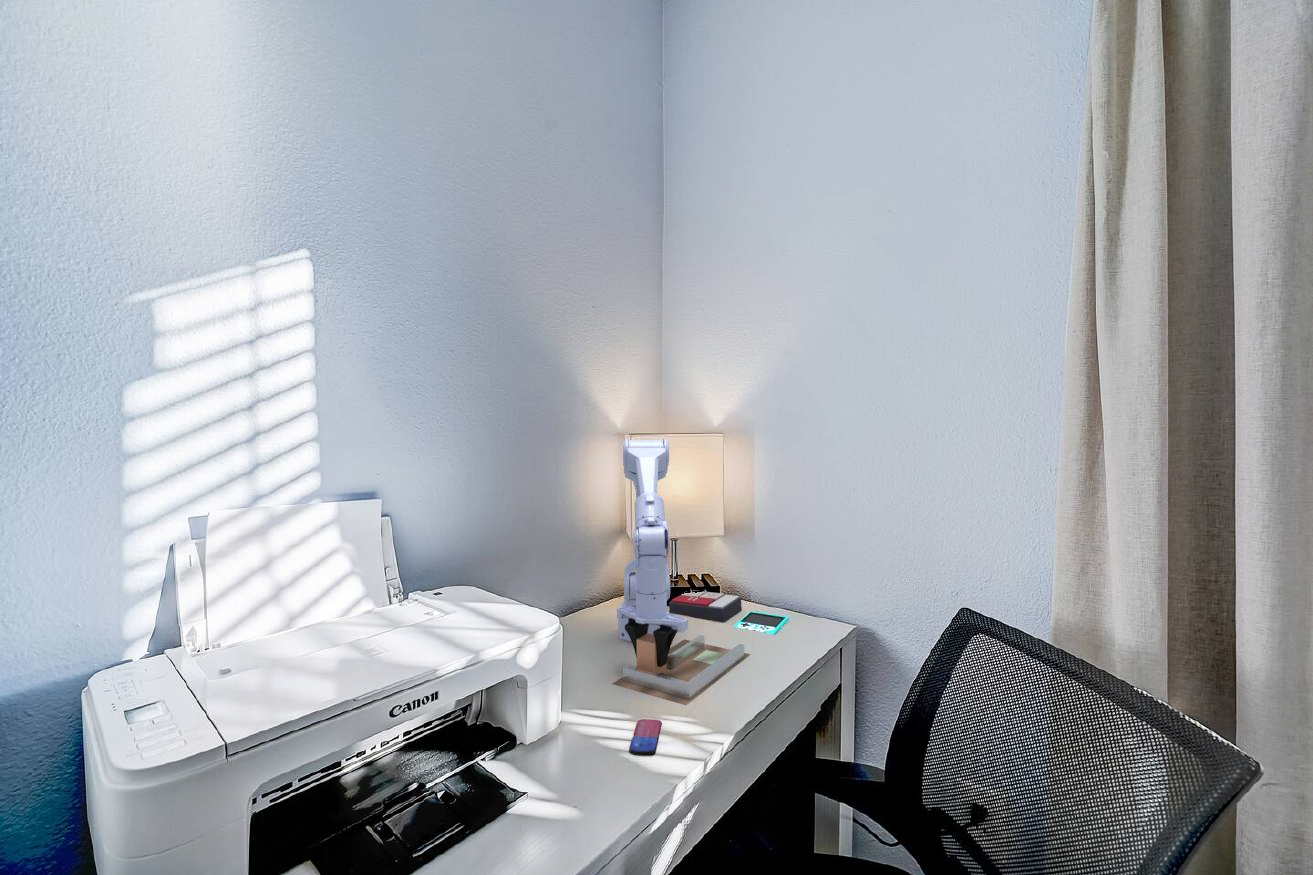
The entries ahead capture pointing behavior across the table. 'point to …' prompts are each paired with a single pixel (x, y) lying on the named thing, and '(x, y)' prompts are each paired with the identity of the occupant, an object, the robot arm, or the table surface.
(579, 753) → the table surface
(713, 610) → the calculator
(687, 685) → the outer rail
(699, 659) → the track board
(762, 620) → the handheld game console
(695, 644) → the inner rail
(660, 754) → the table surface
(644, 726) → the eraser
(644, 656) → the block
